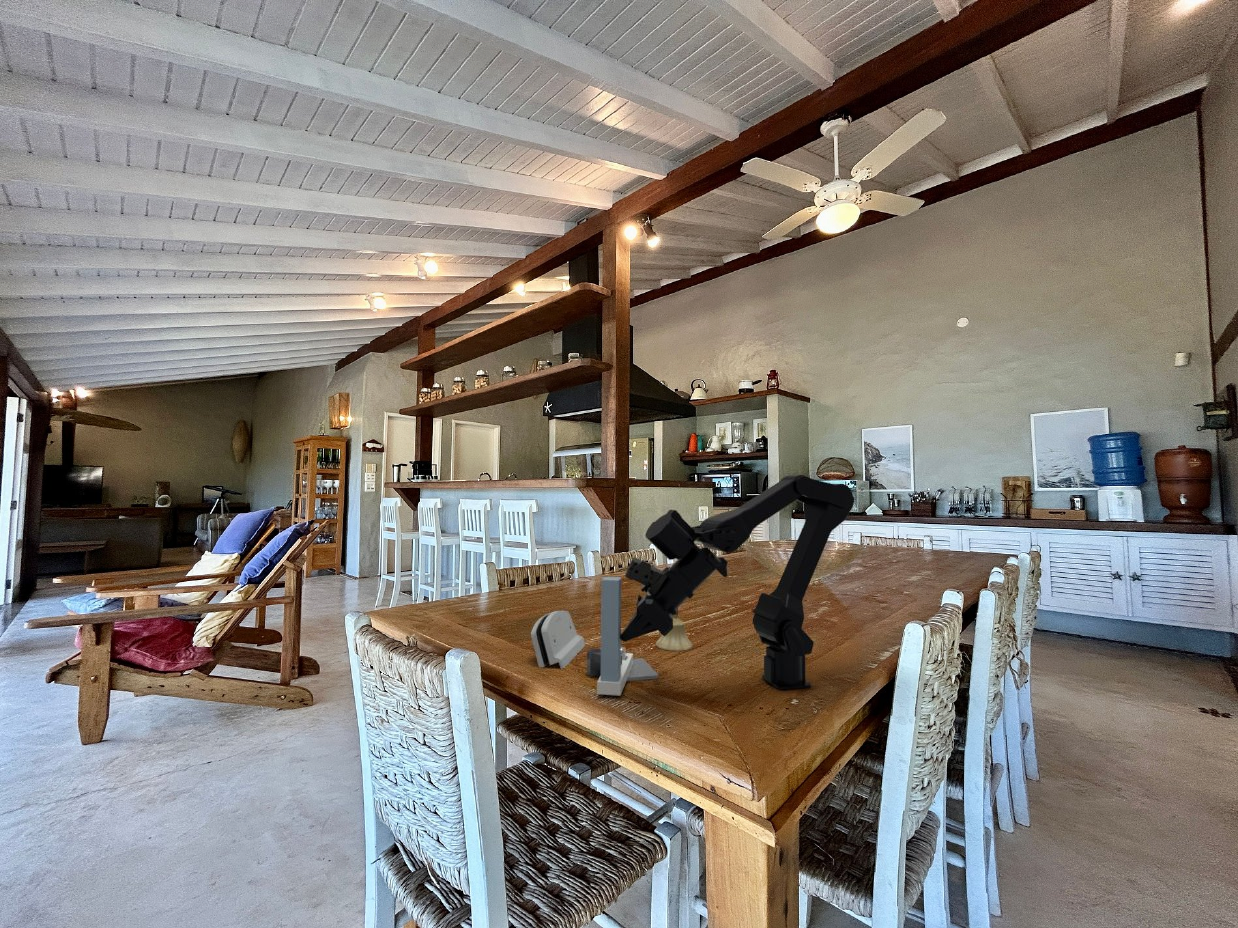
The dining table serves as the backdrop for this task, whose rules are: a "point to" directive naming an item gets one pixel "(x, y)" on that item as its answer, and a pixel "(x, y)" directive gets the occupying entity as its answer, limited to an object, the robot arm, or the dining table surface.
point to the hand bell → (675, 637)
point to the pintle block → (637, 672)
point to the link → (612, 640)
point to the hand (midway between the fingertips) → (621, 639)
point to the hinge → (556, 639)
